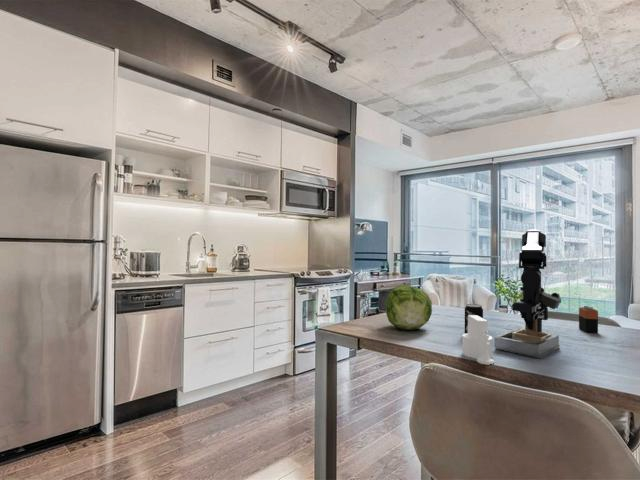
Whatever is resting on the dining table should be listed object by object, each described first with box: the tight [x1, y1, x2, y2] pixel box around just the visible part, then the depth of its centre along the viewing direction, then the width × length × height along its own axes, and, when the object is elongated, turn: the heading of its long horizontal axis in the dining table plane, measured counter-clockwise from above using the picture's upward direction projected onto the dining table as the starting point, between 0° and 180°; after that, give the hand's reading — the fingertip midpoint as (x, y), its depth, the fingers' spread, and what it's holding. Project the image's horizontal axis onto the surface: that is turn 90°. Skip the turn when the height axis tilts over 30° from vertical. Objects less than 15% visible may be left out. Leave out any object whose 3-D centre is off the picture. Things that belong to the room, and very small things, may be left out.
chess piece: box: [476, 328, 495, 366], centre depth 114 cm, size 5×5×10 cm
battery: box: [578, 305, 599, 334], centre depth 153 cm, size 4×7×10 cm, turn 168°
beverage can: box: [464, 303, 484, 334], centre depth 145 cm, size 7×7×12 cm
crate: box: [512, 319, 553, 344], centre depth 131 cm, size 8×10×8 cm
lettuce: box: [384, 284, 433, 331], centre depth 156 cm, size 19×23×18 cm
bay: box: [493, 327, 560, 359], centre depth 128 cm, size 19×14×4 cm
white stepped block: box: [461, 315, 493, 359], centre depth 121 cm, size 9×9×12 cm
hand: (531, 329), depth 131 cm, fingers closed on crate, 2 cm apart
